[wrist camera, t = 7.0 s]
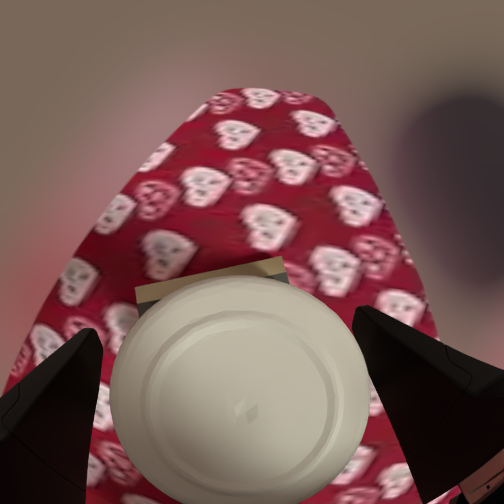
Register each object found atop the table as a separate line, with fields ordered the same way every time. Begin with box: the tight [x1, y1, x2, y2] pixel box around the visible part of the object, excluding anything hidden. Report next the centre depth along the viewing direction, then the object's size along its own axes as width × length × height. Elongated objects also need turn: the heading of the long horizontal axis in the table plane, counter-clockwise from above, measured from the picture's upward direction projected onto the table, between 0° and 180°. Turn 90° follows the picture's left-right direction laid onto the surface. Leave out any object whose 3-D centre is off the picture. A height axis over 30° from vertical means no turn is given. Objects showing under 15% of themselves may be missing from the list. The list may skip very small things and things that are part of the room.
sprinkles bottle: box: [110, 275, 371, 504], centre depth 10 cm, size 5×5×13 cm
